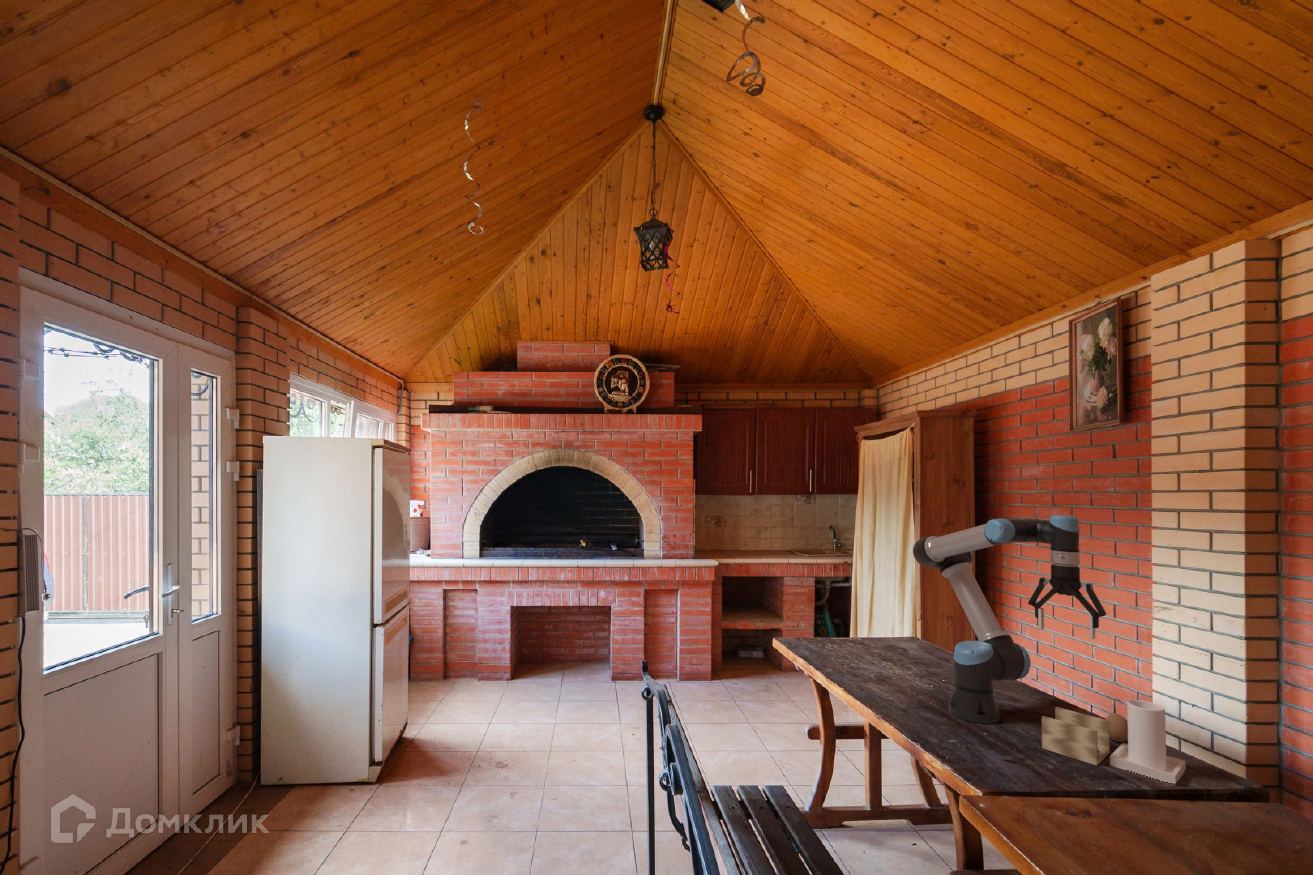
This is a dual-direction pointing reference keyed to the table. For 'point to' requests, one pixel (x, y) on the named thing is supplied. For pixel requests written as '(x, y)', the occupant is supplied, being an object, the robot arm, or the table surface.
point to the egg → (1117, 727)
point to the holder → (1076, 735)
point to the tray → (1169, 775)
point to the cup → (1146, 734)
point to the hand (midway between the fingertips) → (1066, 633)
